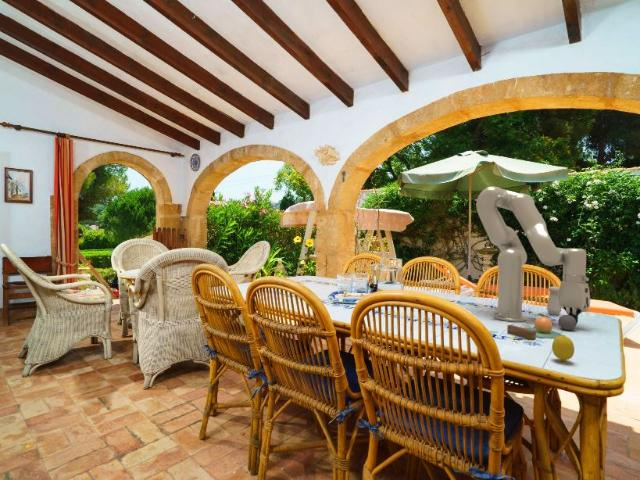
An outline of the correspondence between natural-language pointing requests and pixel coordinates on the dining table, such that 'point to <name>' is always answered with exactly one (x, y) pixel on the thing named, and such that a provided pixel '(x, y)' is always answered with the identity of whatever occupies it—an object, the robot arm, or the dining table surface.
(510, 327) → the stopper wall
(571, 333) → the dining table surface
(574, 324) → the charcoal ball
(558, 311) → the salt shaker
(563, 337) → the lemon
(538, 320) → the orange ball
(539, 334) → the green mark
